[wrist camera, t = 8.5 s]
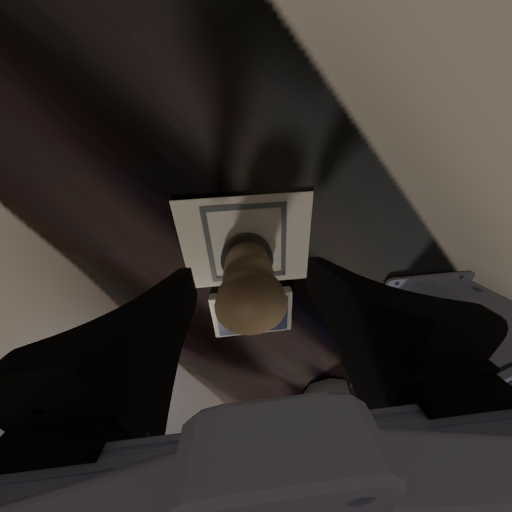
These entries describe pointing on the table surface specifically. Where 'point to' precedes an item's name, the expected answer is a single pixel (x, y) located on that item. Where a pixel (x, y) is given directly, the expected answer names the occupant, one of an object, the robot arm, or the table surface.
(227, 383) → the table surface
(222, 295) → the stamp
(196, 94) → the table surface
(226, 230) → the paper sheet
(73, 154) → the table surface
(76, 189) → the table surface
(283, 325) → the ink pad
